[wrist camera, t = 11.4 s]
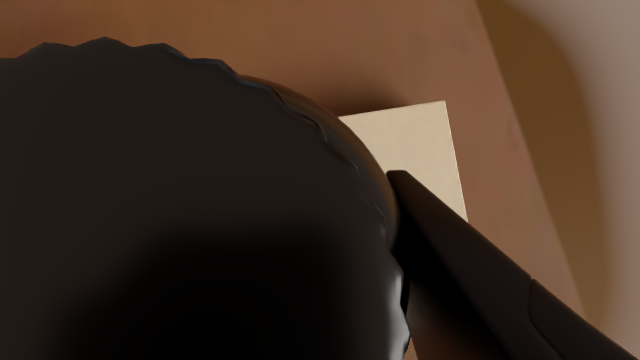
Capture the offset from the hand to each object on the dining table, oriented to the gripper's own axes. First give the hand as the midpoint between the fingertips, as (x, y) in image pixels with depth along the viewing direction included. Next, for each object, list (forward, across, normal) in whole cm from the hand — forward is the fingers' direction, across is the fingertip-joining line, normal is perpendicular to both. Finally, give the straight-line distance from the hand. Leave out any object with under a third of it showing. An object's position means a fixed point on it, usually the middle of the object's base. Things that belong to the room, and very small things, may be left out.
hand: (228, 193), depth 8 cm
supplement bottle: (+4, 0, +6) cm, 7 cm away
